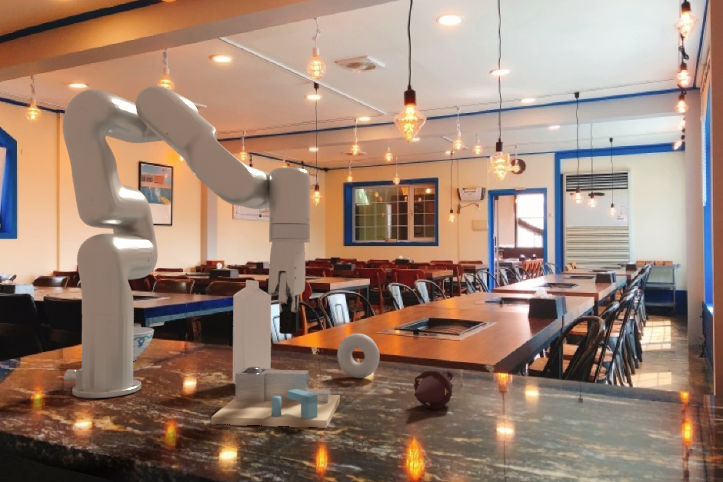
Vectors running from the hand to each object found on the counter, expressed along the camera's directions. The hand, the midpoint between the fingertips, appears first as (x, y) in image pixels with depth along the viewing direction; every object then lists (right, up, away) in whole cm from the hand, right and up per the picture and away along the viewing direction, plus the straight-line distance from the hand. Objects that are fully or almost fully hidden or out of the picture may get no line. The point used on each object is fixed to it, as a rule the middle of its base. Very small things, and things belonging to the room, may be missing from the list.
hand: (288, 333), depth 105 cm
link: (-1, -12, -2) cm, 12 cm away
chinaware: (-48, -14, +40) cm, 64 cm away
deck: (-1, -13, -6) cm, 14 cm away
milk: (-10, -14, +15) cm, 22 cm away
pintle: (-6, -12, -1) cm, 13 cm away
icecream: (+27, -13, -2) cm, 30 cm away
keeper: (+2, -13, -12) cm, 18 cm away
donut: (+13, -14, +21) cm, 28 cm away
